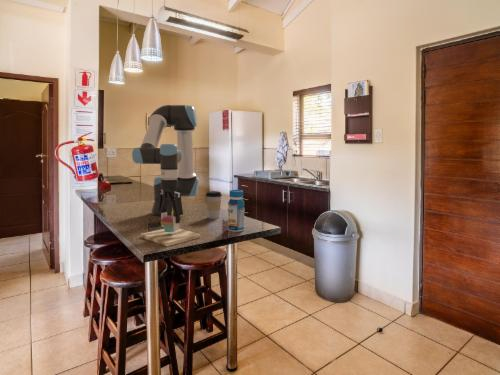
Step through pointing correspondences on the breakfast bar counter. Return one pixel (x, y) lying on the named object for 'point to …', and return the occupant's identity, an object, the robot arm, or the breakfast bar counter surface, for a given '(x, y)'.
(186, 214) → the breakfast bar counter surface
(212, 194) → the coffee cup
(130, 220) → the breakfast bar counter surface
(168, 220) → the cupcake
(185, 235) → the serving board
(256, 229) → the breakfast bar counter surface
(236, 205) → the beverage bottle
